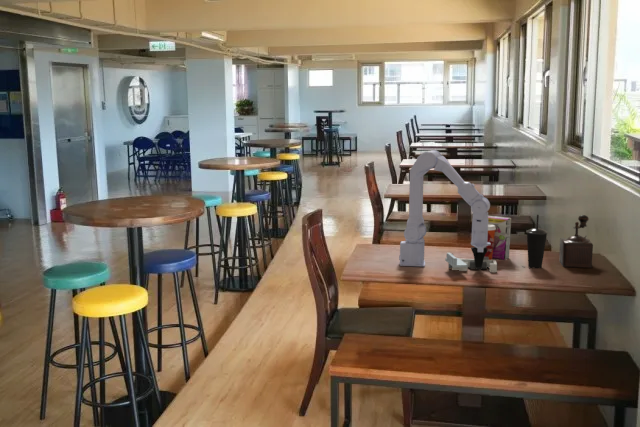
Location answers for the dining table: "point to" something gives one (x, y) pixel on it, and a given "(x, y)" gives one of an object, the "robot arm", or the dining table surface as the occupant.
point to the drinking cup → (536, 246)
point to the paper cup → (490, 241)
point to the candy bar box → (501, 236)
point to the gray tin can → (472, 266)
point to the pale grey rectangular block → (490, 263)
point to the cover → (454, 261)
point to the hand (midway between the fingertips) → (478, 267)
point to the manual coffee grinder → (576, 248)
